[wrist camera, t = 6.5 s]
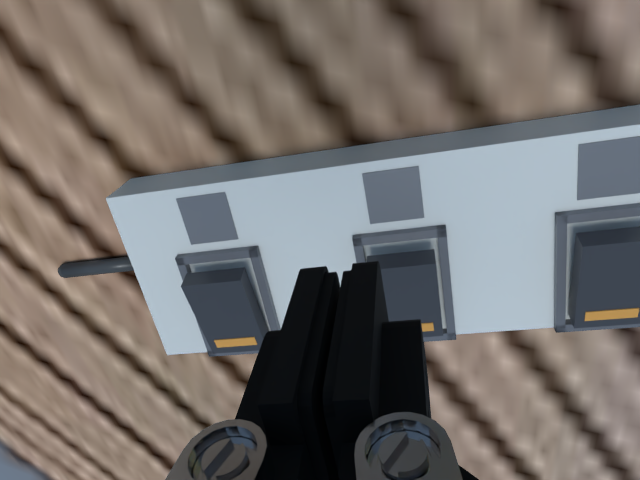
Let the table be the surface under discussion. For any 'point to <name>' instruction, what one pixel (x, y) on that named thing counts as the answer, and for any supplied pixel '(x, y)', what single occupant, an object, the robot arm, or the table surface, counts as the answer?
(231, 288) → the rocker
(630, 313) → the rocker
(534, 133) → the rocker switch panel
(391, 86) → the table surface
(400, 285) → the rocker middle
